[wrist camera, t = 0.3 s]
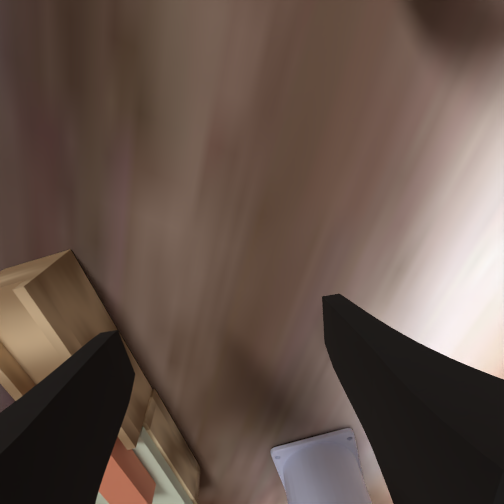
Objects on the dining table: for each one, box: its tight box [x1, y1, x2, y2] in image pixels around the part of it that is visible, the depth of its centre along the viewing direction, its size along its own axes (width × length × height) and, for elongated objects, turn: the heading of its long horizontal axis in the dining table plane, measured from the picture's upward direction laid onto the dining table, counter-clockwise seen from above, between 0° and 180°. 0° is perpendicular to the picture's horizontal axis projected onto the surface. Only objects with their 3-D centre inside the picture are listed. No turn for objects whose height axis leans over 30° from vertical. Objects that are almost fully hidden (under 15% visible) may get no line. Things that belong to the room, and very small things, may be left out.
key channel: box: [0, 249, 152, 450], centre depth 20 cm, size 13×5×5 cm, turn 16°
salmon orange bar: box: [99, 437, 156, 504], centre depth 20 cm, size 10×2×2 cm, turn 16°
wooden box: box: [142, 389, 200, 504], centre depth 25 cm, size 11×16×3 cm
